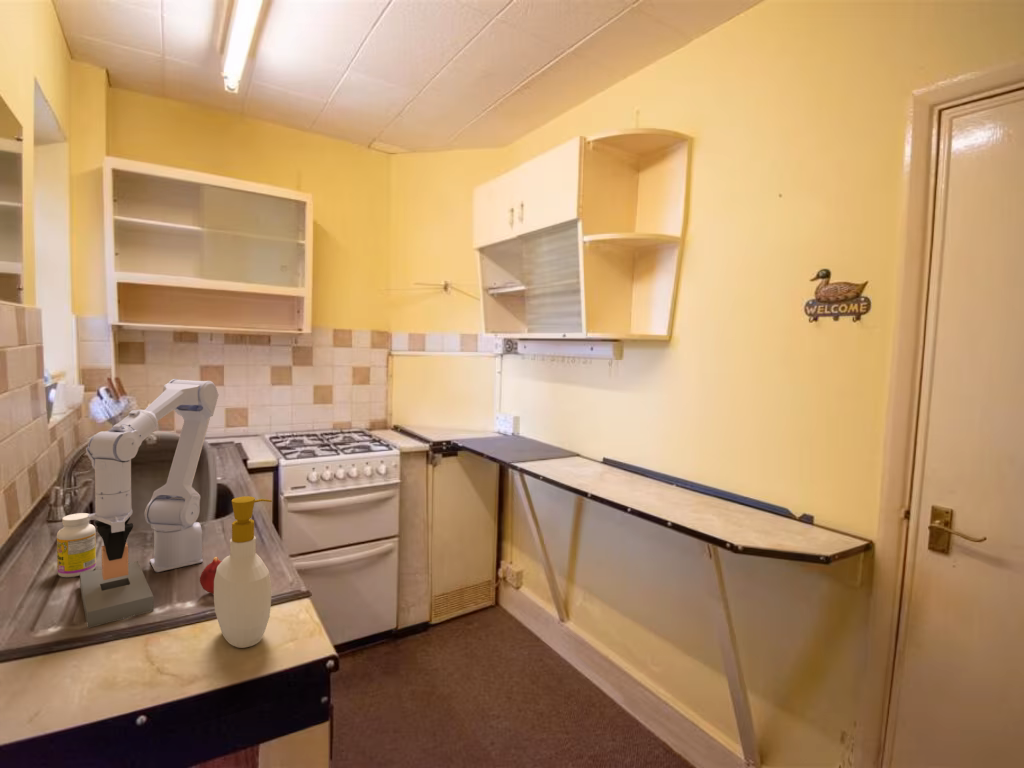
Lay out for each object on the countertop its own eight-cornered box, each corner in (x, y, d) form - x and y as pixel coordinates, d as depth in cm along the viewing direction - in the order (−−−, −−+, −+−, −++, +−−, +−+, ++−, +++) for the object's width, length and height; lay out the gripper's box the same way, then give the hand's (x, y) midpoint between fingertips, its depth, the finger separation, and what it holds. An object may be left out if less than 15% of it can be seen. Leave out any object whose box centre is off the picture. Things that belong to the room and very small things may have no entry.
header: (137, 574, 115) (137, 561, 115) (153, 610, 101) (153, 595, 101) (80, 586, 108) (79, 573, 108) (87, 628, 94) (87, 612, 94)
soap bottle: (286, 643, 92) (288, 502, 90) (233, 664, 86) (234, 513, 84) (254, 612, 102) (255, 484, 100) (204, 629, 95) (204, 493, 93)
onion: (237, 591, 110) (238, 555, 109) (212, 603, 105) (212, 565, 104) (219, 585, 112) (219, 549, 112) (193, 596, 107) (193, 559, 106)
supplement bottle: (58, 569, 115) (57, 514, 114) (96, 563, 120) (95, 509, 119) (56, 581, 110) (55, 523, 109) (96, 573, 114) (95, 518, 113)
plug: (126, 569, 107) (126, 541, 106) (128, 574, 104) (128, 546, 104) (101, 574, 104) (101, 546, 103) (103, 580, 102) (103, 551, 101)
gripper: (84, 485, 105) (85, 549, 106) (90, 503, 95) (91, 574, 96) (127, 480, 110) (127, 541, 111) (137, 497, 100) (138, 564, 101)
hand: (114, 556), depth 104 cm, fingers closed on plug, 3 cm apart
